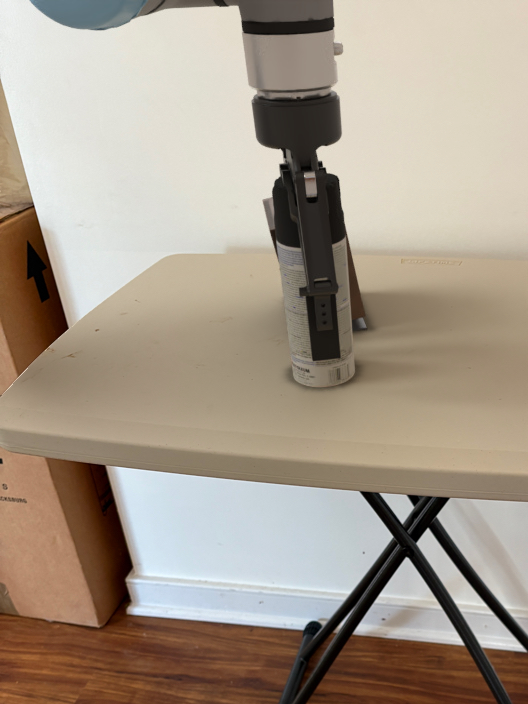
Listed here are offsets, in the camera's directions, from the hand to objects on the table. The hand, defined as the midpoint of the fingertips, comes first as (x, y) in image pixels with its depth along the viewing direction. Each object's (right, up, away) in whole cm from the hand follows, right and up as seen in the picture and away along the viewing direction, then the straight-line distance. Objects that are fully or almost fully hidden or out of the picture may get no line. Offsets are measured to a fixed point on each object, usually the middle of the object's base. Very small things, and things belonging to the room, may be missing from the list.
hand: (318, 331), depth 78 cm
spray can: (0, -4, +4) cm, 6 cm away
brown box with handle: (-1, +7, +15) cm, 17 cm away
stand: (-1, +6, +16) cm, 17 cm away
